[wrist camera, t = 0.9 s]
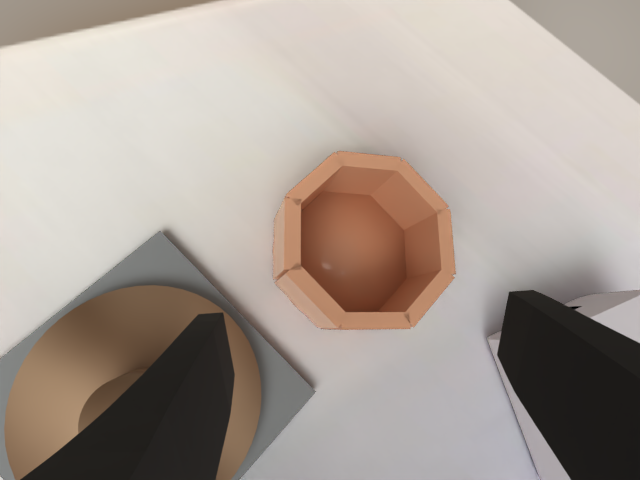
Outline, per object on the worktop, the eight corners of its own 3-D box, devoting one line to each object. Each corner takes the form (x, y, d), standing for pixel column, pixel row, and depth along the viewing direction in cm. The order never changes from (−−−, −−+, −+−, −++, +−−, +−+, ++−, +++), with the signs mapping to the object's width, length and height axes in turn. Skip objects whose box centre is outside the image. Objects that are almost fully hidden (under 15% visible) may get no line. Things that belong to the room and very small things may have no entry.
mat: (131, 597, 18) (128, 606, 17) (-56, 407, 17) (-65, 410, 17) (313, 390, 21) (315, 391, 21) (161, 233, 21) (160, 230, 21)
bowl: (348, 361, 22) (378, 370, 18) (240, 249, 22) (244, 231, 18) (439, 256, 25) (483, 242, 21) (343, 156, 25) (368, 121, 21)
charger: (572, 585, 23) (479, 338, 25) (675, 512, 25) (583, 293, 27) (658, 649, 18) (536, 340, 20) (772, 552, 21) (654, 287, 23)
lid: (130, 587, 17) (102, 668, 13) (-46, 410, 17) (-130, 435, 13) (302, 391, 21) (322, 407, 17) (158, 243, 21) (143, 223, 16)
